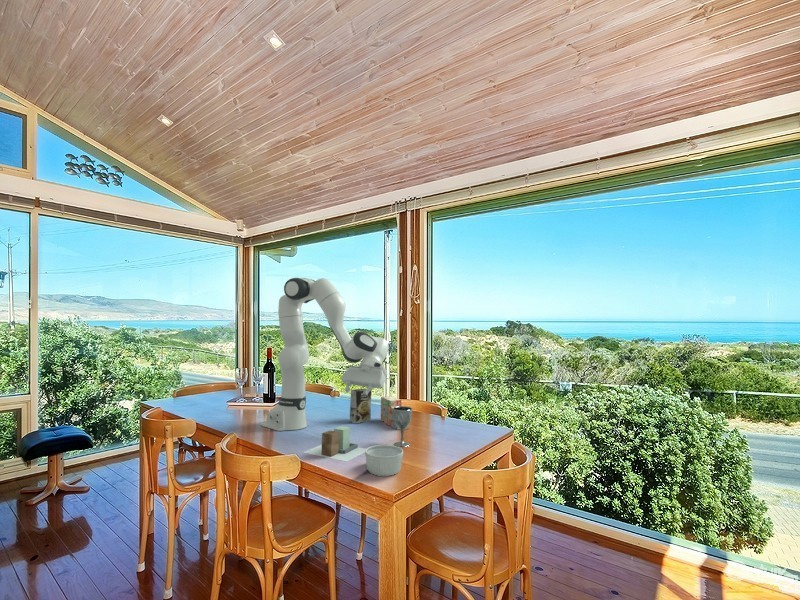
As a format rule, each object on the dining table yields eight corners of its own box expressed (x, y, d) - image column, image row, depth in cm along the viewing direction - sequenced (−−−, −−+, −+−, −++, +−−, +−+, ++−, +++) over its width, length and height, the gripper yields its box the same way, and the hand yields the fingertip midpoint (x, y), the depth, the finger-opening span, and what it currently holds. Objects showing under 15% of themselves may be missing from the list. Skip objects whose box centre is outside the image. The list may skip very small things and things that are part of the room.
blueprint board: (302, 455, 154) (302, 449, 154) (328, 444, 168) (328, 438, 168) (346, 465, 145) (346, 458, 145) (369, 452, 159) (370, 446, 159)
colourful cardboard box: (409, 429, 195) (409, 403, 196) (397, 430, 193) (397, 404, 193) (391, 419, 215) (391, 395, 215) (380, 420, 212) (380, 396, 213)
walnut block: (321, 454, 151) (322, 433, 152) (328, 451, 155) (329, 430, 156) (331, 456, 149) (331, 434, 150) (338, 453, 153) (339, 431, 154)
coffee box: (356, 423, 203) (357, 391, 204) (349, 421, 208) (350, 389, 208) (371, 421, 209) (371, 389, 210) (363, 418, 214) (364, 387, 214)
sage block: (333, 449, 158) (333, 428, 159) (340, 446, 162) (340, 425, 163) (342, 451, 156) (343, 430, 156) (349, 448, 160) (350, 427, 160)
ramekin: (384, 481, 131) (385, 459, 131) (356, 471, 139) (357, 450, 140) (410, 470, 141) (411, 450, 141) (382, 461, 149) (383, 442, 150)
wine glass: (393, 441, 175) (393, 406, 175) (411, 441, 174) (412, 406, 175) (392, 447, 167) (392, 410, 167) (411, 447, 166) (412, 410, 167)
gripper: (347, 361, 186) (333, 385, 177) (386, 365, 177) (373, 390, 167) (352, 370, 190) (338, 394, 181) (390, 374, 180) (378, 400, 171)
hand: (355, 392), depth 174 cm, fingers open, 8 cm apart
